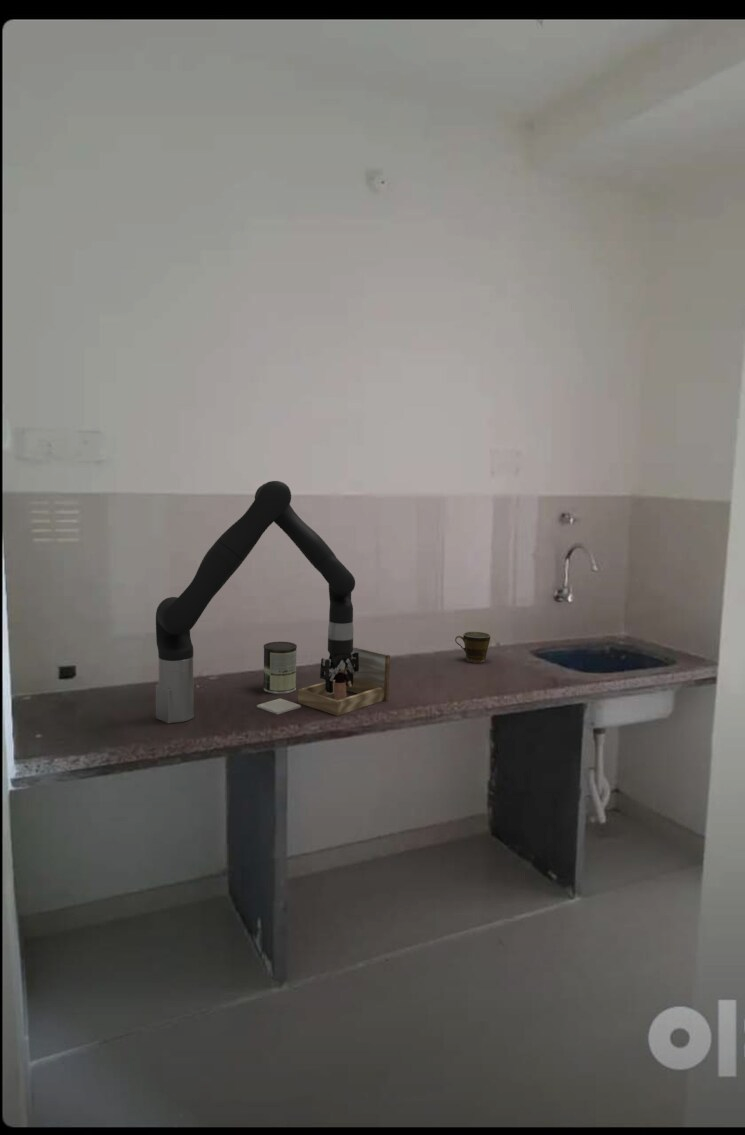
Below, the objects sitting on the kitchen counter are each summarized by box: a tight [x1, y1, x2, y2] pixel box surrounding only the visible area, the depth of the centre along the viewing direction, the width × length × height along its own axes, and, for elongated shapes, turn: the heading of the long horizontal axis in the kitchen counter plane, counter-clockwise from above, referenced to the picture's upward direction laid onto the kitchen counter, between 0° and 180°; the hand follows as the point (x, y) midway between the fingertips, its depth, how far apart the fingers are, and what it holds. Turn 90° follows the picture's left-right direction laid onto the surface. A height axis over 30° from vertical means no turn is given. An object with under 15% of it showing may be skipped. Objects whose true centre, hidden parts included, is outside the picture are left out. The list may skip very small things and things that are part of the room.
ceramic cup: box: [454, 631, 491, 664], centre depth 272 cm, size 13×10×10 cm
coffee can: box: [262, 641, 298, 695], centre depth 231 cm, size 10×10×14 cm
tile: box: [256, 697, 302, 715], centre depth 214 cm, size 9×9×1 cm
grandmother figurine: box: [333, 663, 352, 700], centre depth 220 cm, size 8×4×13 cm, turn 84°
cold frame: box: [297, 646, 391, 717], centre depth 221 cm, size 21×18×14 cm
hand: (339, 689), depth 220 cm, fingers open, 8 cm apart
